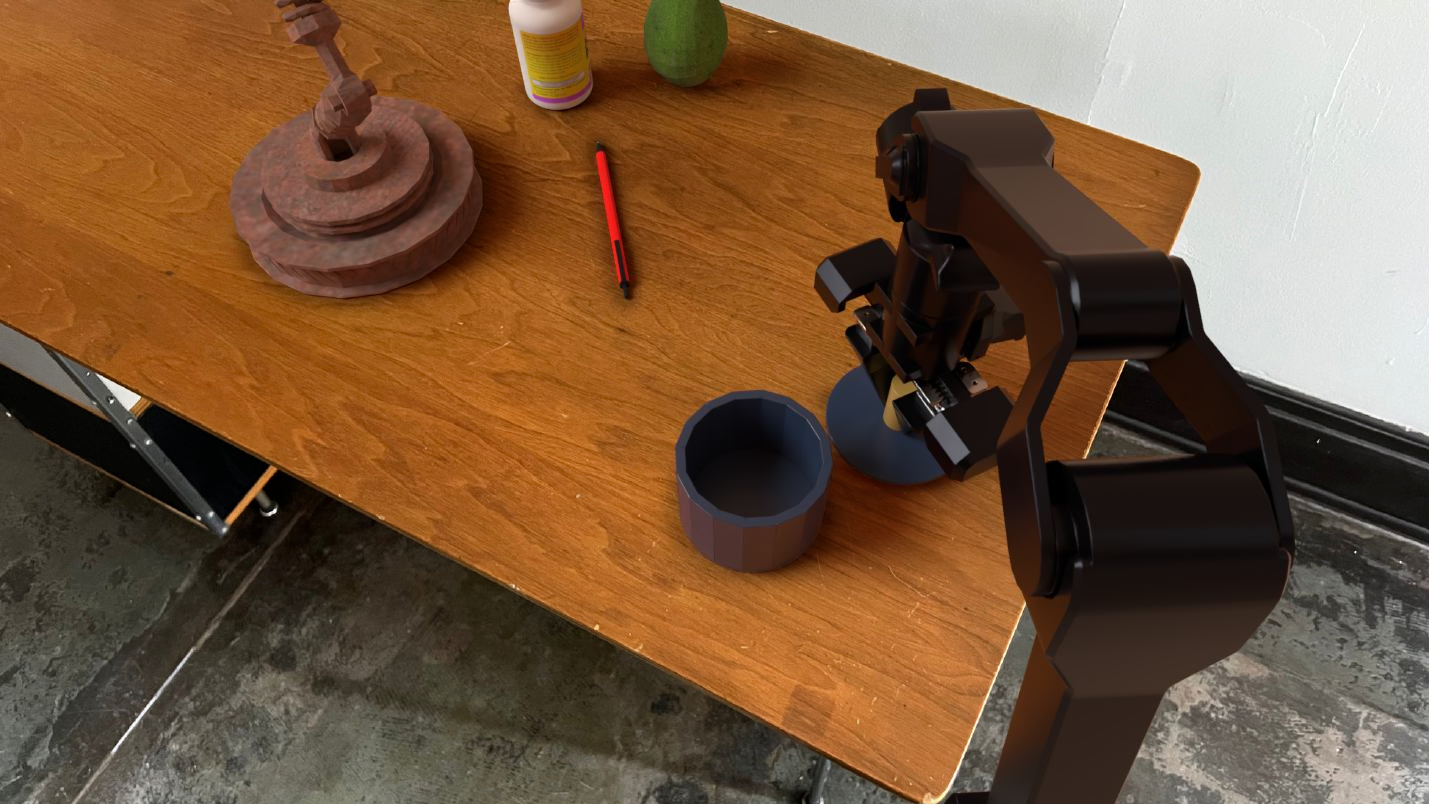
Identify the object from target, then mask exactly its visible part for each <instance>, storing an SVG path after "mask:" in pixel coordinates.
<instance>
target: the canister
mask: <svg viewBox="0 0 1429 804" xmlns="http://www.w3.org/2000/svg"><path fill="white" fill-rule="evenodd" d="M831 444H832V443H831V440H830V438H829V435H828V432H826V430H825V429H824V427H823V425H822V424H821V422H820V420H819V419H818V418H817V416H816V414H814V413H813V412H812V411H811V410H809V409H808V408H806V407H804V405H802V404H800V403H799V402H797V401H796V400H795V399H794V398H792V397H790V396H787V395H783V394H780V393H776V392H772V391H769V390H765V389H751V390H749V389H748V390H733V391H730V392H728V393H725V394H723V395H721V396H719V397H716V398H714V399H711V400H709V401H707V402H705V403H704V404H703V405H701V407H700V408H698V409H697V410H696V411H695V412H694V413H693V414H692V415H691V416H690V417H689V418H688V419H686V421H685V422H684V424H683V427H682V429H681V431H680V434H679V436H678V439H677V441H676V443H675V446H674V456H675V457H674V459H675V476H676V487H677V488H676V489H677V498H678V499H677V500H678V510H679V520H680V522H681V524H682V528H683V530H684V533H685V535H686V536H687V538H688V540H689V542H690V543H691V544H692V545H693V546H694V548H695V549H696V550H697V551H698V552H699V553H700V554H701V555H702V556H703V557H705V558H706V559H707V560H709V561H710V562H712V563H713V564H715V565H718V566H719V567H722V568H725V569H727V570H731V571H734V572H739V573H741V572H742V573H747V574H748V573H749V574H750V573H751V574H752V573H753V574H755V573H758V574H759V573H765V572H770V571H774V570H778V569H780V568H783V567H786V566H787V565H789V564H791V563H792V562H794V561H795V560H797V559H798V558H800V557H801V556H802V555H803V554H804V553H805V552H807V550H808V549H809V548H810V546H811V545H812V544H813V542H814V541H815V539H816V538H817V536H818V534H819V531H820V528H821V525H822V522H823V518H824V516H825V515H824V514H825V511H826V506H827V500H828V495H829V490H830V484H831V479H832V474H833V469H834V459H833V458H834V457H833V452H832V445H831Z"/></svg>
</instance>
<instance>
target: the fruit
mask: <svg viewBox="0 0 1429 804" xmlns="http://www.w3.org/2000/svg"><path fill="white" fill-rule="evenodd" d="M728 42H729V32H728V20H727V16H726V13H725V10H724V7H723V5H722V3H721V0H651V1H650V3H649V6H648V8H647V12H646V15H645V19H644V23H643V49H644V51H645V54H646V57H647V60H648V62H649V64H650V65H651V67H652V69H653V70H654V71H655V72H656V73H657V74H658V75H660V76H661V77H662V78H664V79H665V80H666V81H667V82H669V83H670V84H672V85H675V86H678V87H681V88H691V87H695V86H698V85H701V84H702V83H704V82H706V81H707V80H708V79H710V78H712V76H713V75H714V74H715V72H716V71H717V69H718V68H719V66H720V64H721V63H722V62H723V59H724V57H725V52H726V50H727V48H728V47H727V46H728Z"/></svg>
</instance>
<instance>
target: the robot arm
mask: <svg viewBox="0 0 1429 804" xmlns="http://www.w3.org/2000/svg"><path fill="white" fill-rule="evenodd" d="M1055 143H1056V138H1055V136H1054V135H1053V133H1052V132H1051V130H1050V129H1049V128H1048V126H1047V125H1046V124H1045V122H1044V121H1043V119H1042V118H1041V117H1040V115H1039V114H1038V113H1037V112H1036V111H1035V110H1034V108H1031V107H1008V108H1006V107H1005V108H983V109H981V108H979V109H978V108H977V109H958V108H956V107H955V106H954V105H953V104H951V100H950V96H949V92H948V88H947V87H929V88H928V87H927V88H915V89H914V94H913V99H912V102H909V103H907V104H904V105H902V106H900V107H898V108H897V109H896V110H894V111H893V112H891V113H889V115H888V116H886V118H885V119H884V120H883V121H882V122H881V125H880V126H879V127H878V128H877V129H876V133H875V146H876V152H877V155H875V162H874V163H875V169H874V171H875V176H874V177H875V179H880V180H882V183H883V188H884V193H885V199H886V204H887V209H888V213H889V215H890V218H891V219H892V221H893V222H894V223H898V224H899V223H902V227H901V232H900V236H899V240H898V245H897V249H896V247H895V246H894V244H893V243H891V241H889V240H888V239H885V238H883V237H875V238H872V239H868V240H866V241H863V242H861V243H858V244H856V245H853V246H851V247H848V248H845V249H843V250H840V251H837V252H835V253H832V254H830V255H828V256H825V258H824V259H823V260H822V261H821V262H820V263H819V264H818V265H817V267H816V269H815V274H814V280H813V281H814V282H813V289H814V290H815V292H816V293H817V294H818V296H819V297H820V299H821V300H822V301H823V303H824V304H825V306H826V307H827V308H828V310H829V312H830V313H833V314H839V313H843V312H844V311H846V308H847V307H846V305H847V303H848V302H850V301H852V300H855V299H858V298H860V297H862V296H864V298H865V299H866V300H867V302H868V303H869V304H865V305H863V306H861V307H858V308H856V309H854V310H853V312H852V316H853V318H854V320H855V322H854V324H852V325H850V326H848V327H846V329H845V330H844V336H845V338H846V340H847V342H848V343H849V345H850V347H851V349H852V350H853V351H854V352H853V353H854V354H855V356H856V358H857V359H858V361H859V363H860V365H862V367H863V368H864V370H865V372H866V374H867V376H868V378H869V379H870V381H871V383H872V385H873V387H874V389H875V391H876V393H877V395H878V397H879V398H880V400H881V402H882V404H883V405H884V407H885V406H886V402H887V398H888V394H889V390H890V387H891V383H892V379H893V378H894V376H895V375H896V374H897V376H898V377H899V379H900V380H901V381H902V383H903V384H906V383H908V382H910V381H912V382H913V384H914V385H915V387H916V388H917V389H918V390H916V391H913V392H911V393H909V394H906V395H904V396H902V397H899V398H897V399H895V400H893V401H892V404H893V407H894V410H895V414H896V417H897V420H898V424H899V426H900V429H901V431H902V433H903V434H904V435H906V434H908V433H911V432H914V433H917V434H922V433H923V435H924V439H925V442H926V446H927V448H928V450H929V451H930V453H931V454H932V456H933V457H934V458H935V460H936V461H937V463H938V464H939V465H940V467H941V468H942V470H943V471H944V473H945V474H946V475H945V476H946V477H947V478H948V479H949V480H950V481H954V482H958V483H964V482H966V481H968V480H970V479H973V478H975V477H976V476H979V475H980V474H983V473H985V472H987V471H989V470H992V469H994V468H996V467H997V470H998V471H997V474H998V480H999V481H998V482H999V488H1000V489H999V490H1000V497H1001V505H1002V512H1003V521H1004V530H1005V536H1006V546H1007V552H1008V558H1009V563H1010V568H1011V572H1012V575H1013V578H1014V580H1015V584H1016V586H1017V587H1018V589H1019V590H1020V592H1021V594H1022V597H1023V599H1024V602H1025V605H1026V607H1027V610H1028V613H1029V615H1030V618H1031V621H1032V623H1033V627H1034V629H1035V632H1036V634H1035V637H1034V641H1033V643H1032V647H1031V650H1030V653H1029V657H1028V661H1027V664H1026V667H1025V671H1024V674H1023V678H1022V681H1021V684H1020V689H1019V691H1018V695H1017V698H1016V701H1015V705H1014V709H1013V712H1012V715H1011V719H1010V722H1009V726H1008V729H1007V733H1006V736H1005V739H1004V743H1003V747H1002V750H1001V753H1000V756H999V760H998V764H997V767H996V769H995V774H994V777H993V781H992V784H991V787H990V790H986V791H985V790H984V791H964V792H963V791H962V792H952V793H951V794H950V795H949V797H948V798H947V799H946V800H945V801H944V802H943V804H1117V802H1118V799H1119V797H1120V795H1121V793H1122V790H1123V788H1124V786H1125V784H1126V782H1127V780H1128V778H1129V775H1130V773H1131V771H1132V768H1133V767H1134V765H1135V762H1136V760H1137V758H1138V755H1139V753H1140V751H1141V748H1142V747H1143V744H1144V742H1145V739H1146V737H1147V736H1148V733H1149V731H1150V729H1151V726H1152V724H1153V722H1154V720H1155V717H1156V716H1157V713H1158V711H1159V709H1160V707H1161V704H1162V702H1163V700H1164V698H1165V695H1166V693H1167V691H1168V690H1169V689H1170V688H1171V687H1173V686H1174V685H1176V684H1178V683H1181V682H1183V681H1184V680H1186V679H1188V678H1190V677H1192V676H1193V675H1195V674H1197V673H1199V672H1201V671H1204V670H1205V669H1207V668H1209V667H1211V666H1214V665H1215V664H1217V663H1219V662H1221V661H1223V660H1224V659H1227V658H1229V657H1230V656H1232V655H1234V654H1236V653H1237V652H1239V651H1240V650H1241V649H1242V648H1243V647H1244V646H1245V644H1246V643H1247V642H1248V641H1249V640H1250V638H1251V637H1252V636H1253V635H1254V634H1255V632H1256V631H1257V630H1258V629H1259V628H1260V627H1261V625H1263V623H1264V622H1265V621H1266V620H1267V618H1268V617H1269V616H1270V615H1271V614H1272V612H1273V611H1274V609H1275V608H1276V607H1277V606H1278V604H1279V602H1280V600H1281V599H1282V597H1283V595H1284V593H1285V590H1286V587H1287V584H1288V581H1289V578H1290V572H1291V571H1292V569H1293V567H1294V560H1295V556H1296V555H1295V554H1296V549H1297V548H1296V547H1297V546H1296V535H1295V525H1294V521H1293V516H1292V510H1291V506H1290V505H1291V504H1290V501H1289V496H1288V490H1287V486H1286V481H1285V476H1284V471H1283V467H1282V462H1281V456H1280V452H1279V447H1278V443H1277V438H1276V437H1277V436H1276V433H1275V427H1274V423H1273V418H1272V417H1271V414H1270V413H1269V410H1268V408H1267V407H1266V405H1265V404H1264V403H1263V402H1262V401H1261V399H1260V398H1259V397H1258V396H1257V395H1256V393H1255V392H1254V391H1253V390H1252V389H1251V387H1250V386H1249V385H1248V384H1247V382H1246V381H1245V379H1243V377H1242V376H1241V375H1240V373H1238V371H1237V370H1236V369H1235V368H1234V366H1233V365H1232V364H1231V362H1229V361H1228V359H1227V358H1226V356H1224V354H1223V353H1222V352H1221V350H1219V348H1218V347H1217V346H1216V345H1215V343H1214V342H1213V340H1212V339H1211V338H1210V337H1209V336H1208V335H1207V333H1206V331H1205V328H1204V327H1205V326H1204V323H1203V316H1202V312H1201V311H1202V310H1201V307H1200V303H1199V302H1200V301H1199V296H1198V290H1197V286H1196V282H1195V279H1194V276H1193V273H1192V270H1191V267H1190V266H1189V265H1188V263H1186V261H1185V260H1184V258H1182V257H1179V256H1177V255H1174V254H1169V255H1167V253H1166V252H1164V251H1162V250H1161V249H1157V248H1156V249H1155V248H1152V247H1149V246H1148V245H1146V243H1144V242H1143V241H1142V240H1140V238H1138V237H1137V236H1136V235H1135V234H1133V233H1132V232H1131V231H1129V230H1128V229H1127V228H1125V226H1123V225H1122V224H1121V223H1119V221H1117V220H1116V219H1115V218H1114V217H1112V216H1111V215H1110V214H1109V213H1108V212H1107V211H1106V210H1105V209H1103V208H1102V207H1101V206H1099V205H1098V204H1097V203H1096V202H1094V201H1093V200H1092V199H1091V198H1090V197H1088V196H1087V195H1086V194H1085V193H1084V192H1082V191H1081V190H1080V189H1079V188H1077V186H1075V185H1074V184H1072V183H1071V182H1070V181H1069V180H1068V179H1067V178H1065V177H1064V176H1063V175H1062V174H1061V173H1059V171H1057V170H1056V169H1055V168H1054V167H1055V163H1054V162H1055ZM1024 338H1026V339H1025V340H1026V345H1027V353H1028V360H1029V371H1028V373H1027V376H1026V378H1025V379H1024V382H1023V384H1022V386H1021V388H1020V391H1019V393H1018V396H1017V398H1016V399H1015V398H1014V397H1013V396H1012V394H1011V393H1010V392H1009V391H1008V389H1007V388H1006V387H1003V386H1000V385H996V386H994V387H991V388H989V389H988V387H989V385H988V382H987V381H986V380H985V379H984V378H983V376H982V375H981V374H980V372H979V371H978V370H977V369H976V367H975V366H974V365H973V364H972V362H975V361H977V360H980V359H982V358H984V357H986V355H987V352H988V350H989V347H990V345H992V344H998V343H1003V342H1008V341H1014V342H1017V341H1021V340H1023V339H1024ZM963 359H966V360H965V361H963ZM1131 360H1132V361H1133V360H1134V361H1135V360H1144V363H1145V365H1146V367H1147V369H1148V372H1149V374H1150V375H1151V376H1152V377H1153V378H1154V379H1155V381H1156V382H1157V383H1158V384H1159V386H1160V387H1161V388H1162V390H1163V391H1164V392H1165V394H1166V395H1167V396H1168V397H1169V398H1170V401H1172V402H1173V403H1174V405H1175V406H1176V407H1177V409H1178V410H1179V411H1180V413H1182V415H1183V416H1184V418H1185V419H1186V420H1187V421H1188V423H1189V424H1190V425H1191V426H1192V428H1193V429H1194V430H1195V431H1196V433H1197V434H1198V435H1199V437H1200V438H1201V439H1202V440H1203V442H1204V444H1205V450H1206V453H1183V454H1182V453H1181V454H1161V455H1160V454H1158V455H1157V454H1155V455H1136V456H1135V455H1134V456H1132V455H1131V456H1113V457H1112V456H1111V457H1109V456H1108V457H1089V458H1088V457H1087V458H1063V459H1051V460H1046V456H1045V449H1044V442H1043V436H1042V424H1043V422H1044V420H1045V418H1046V416H1047V413H1048V411H1049V409H1050V407H1051V404H1052V403H1053V399H1054V397H1055V396H1056V392H1057V391H1058V388H1059V386H1060V384H1061V381H1062V379H1063V377H1064V374H1065V373H1066V371H1067V368H1068V366H1069V363H1082V362H1083V363H1084V362H1086V363H1087V362H1109V361H1131Z"/></svg>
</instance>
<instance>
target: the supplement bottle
mask: <svg viewBox="0 0 1429 804" xmlns="http://www.w3.org/2000/svg"><path fill="white" fill-rule="evenodd" d="M582 5H583V4H582V1H581V0H509V4H508V15H509V20H510V24H511V29H512V33H513V38H514V42H515V47H516V51H517V56H518V61H519V66H520V72H521V75H522V80H523V84H524V85H523V86H524V89H525V93H526V95H527V97H528V98H529V100H530V101H531V102H532V103H534V104H535V105H537V106H538V107H541V108H543V109H547V110H551V111H552V110H554V111H561V110H566V109H571V108H574V107H576V106H578V105H580V104H582V103H583V102H584V101H586V99H587V98H588V97H589V96H590V95H591V92H592V90H593V88H594V87H593V86H594V80H593V79H594V78H593V72H592V64H591V58H590V53H589V47H588V40H587V39H588V38H587V32H586V25H585V18H584V12H583V6H582Z"/></svg>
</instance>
